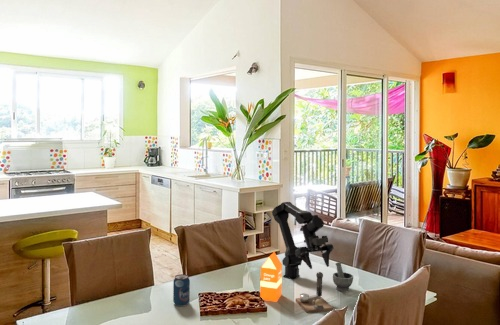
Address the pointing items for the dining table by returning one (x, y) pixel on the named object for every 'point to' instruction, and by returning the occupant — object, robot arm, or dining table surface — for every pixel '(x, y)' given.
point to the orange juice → (271, 279)
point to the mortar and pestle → (342, 279)
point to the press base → (315, 305)
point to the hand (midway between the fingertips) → (319, 267)
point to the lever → (307, 298)
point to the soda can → (181, 290)
